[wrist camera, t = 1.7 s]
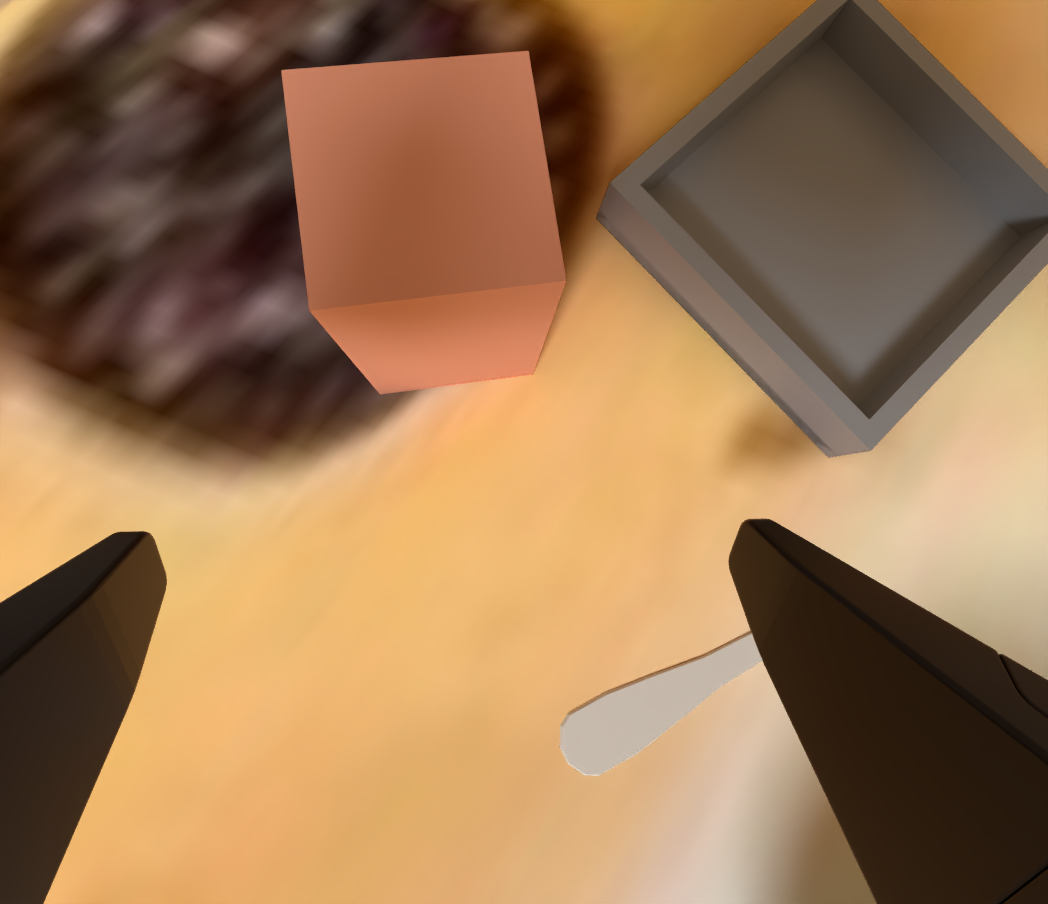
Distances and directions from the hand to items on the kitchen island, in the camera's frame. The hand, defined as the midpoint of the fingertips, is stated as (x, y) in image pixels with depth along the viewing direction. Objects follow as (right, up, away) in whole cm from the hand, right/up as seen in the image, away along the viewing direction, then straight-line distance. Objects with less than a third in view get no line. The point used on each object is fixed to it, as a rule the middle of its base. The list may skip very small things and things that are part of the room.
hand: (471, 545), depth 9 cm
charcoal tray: (+13, +11, +15) cm, 23 cm away
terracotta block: (-2, +7, +14) cm, 15 cm away
